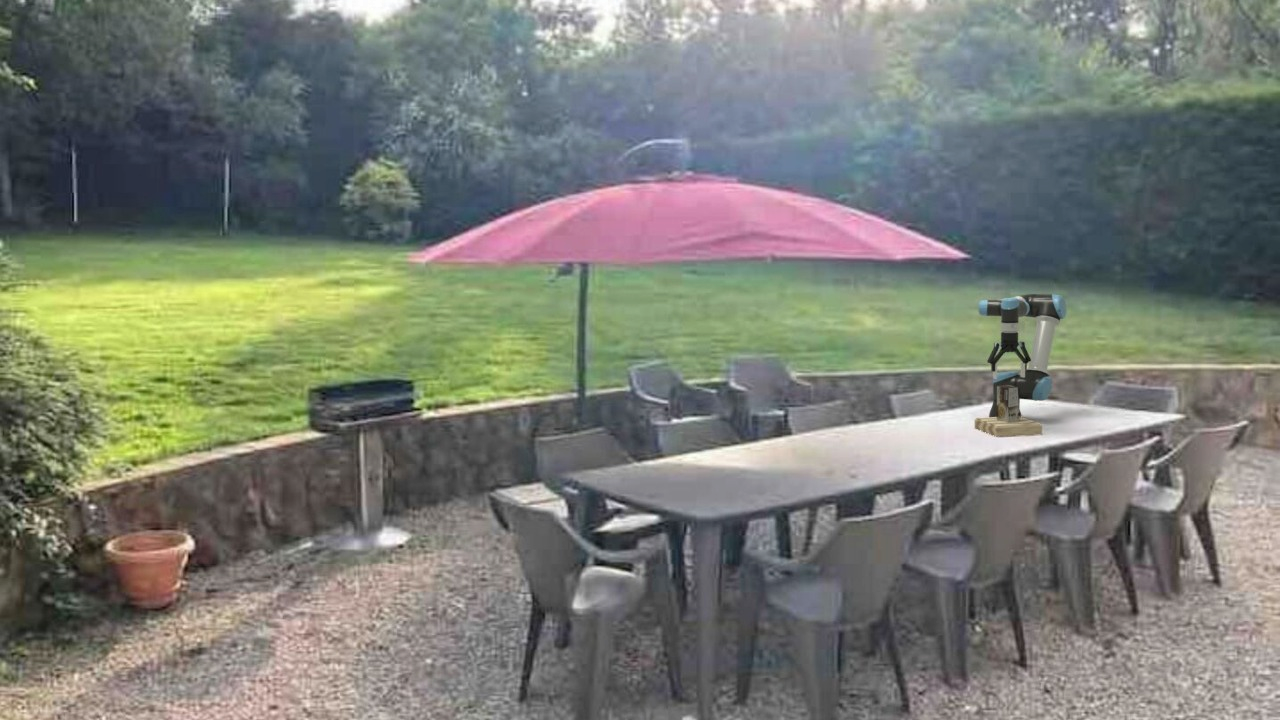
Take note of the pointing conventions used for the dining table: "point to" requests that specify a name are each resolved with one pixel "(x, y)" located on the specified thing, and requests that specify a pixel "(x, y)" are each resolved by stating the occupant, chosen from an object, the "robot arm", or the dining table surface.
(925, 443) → the dining table surface
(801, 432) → the dining table surface
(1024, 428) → the stand
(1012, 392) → the coffee box
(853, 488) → the dining table surface
